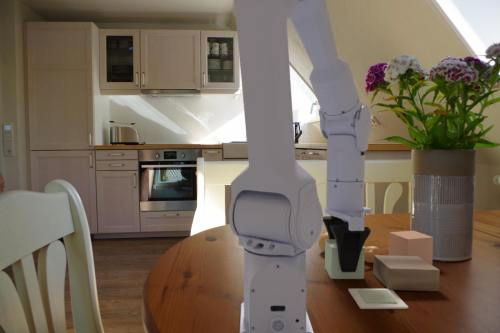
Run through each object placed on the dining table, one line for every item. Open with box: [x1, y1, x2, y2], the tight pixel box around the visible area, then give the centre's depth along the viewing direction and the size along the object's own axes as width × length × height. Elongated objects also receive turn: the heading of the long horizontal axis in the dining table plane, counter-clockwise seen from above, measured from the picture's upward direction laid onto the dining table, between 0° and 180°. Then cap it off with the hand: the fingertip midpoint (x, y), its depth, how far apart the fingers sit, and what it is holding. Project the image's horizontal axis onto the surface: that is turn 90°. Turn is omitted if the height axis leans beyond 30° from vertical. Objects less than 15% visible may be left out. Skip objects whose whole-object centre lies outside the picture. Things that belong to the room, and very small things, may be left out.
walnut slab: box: [372, 254, 441, 292], centre depth 58 cm, size 7×7×3 cm
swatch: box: [348, 288, 409, 310], centre depth 52 cm, size 6×6×1 cm
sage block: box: [324, 239, 365, 280], centre depth 62 cm, size 5×5×5 cm
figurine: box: [318, 231, 382, 263], centre depth 70 cm, size 8×6×12 cm
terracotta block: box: [388, 230, 434, 265], centre depth 68 cm, size 5×5×5 cm
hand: (343, 265), depth 62 cm, fingers closed on sage block, 5 cm apart
